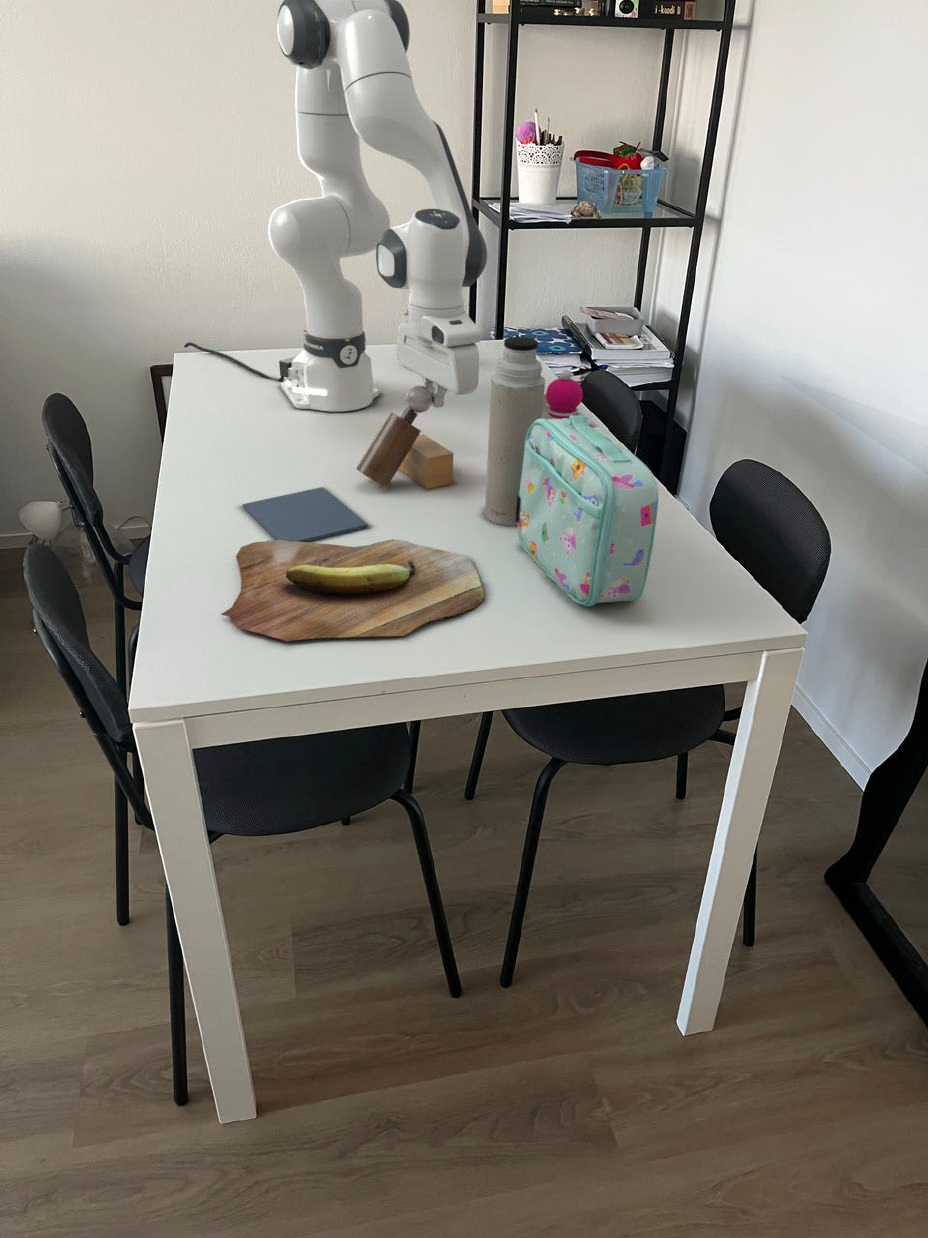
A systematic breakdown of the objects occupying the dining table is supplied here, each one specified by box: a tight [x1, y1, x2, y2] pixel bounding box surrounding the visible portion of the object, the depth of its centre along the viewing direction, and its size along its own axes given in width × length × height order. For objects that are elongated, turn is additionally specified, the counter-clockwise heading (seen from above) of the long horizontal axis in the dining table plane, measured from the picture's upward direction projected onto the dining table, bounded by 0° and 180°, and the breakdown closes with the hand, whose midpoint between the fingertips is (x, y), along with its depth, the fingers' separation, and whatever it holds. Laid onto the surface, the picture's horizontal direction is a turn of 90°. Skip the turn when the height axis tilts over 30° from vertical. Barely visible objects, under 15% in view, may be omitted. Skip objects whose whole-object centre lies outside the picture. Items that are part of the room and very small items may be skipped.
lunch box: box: [515, 414, 659, 607], centre depth 130 cm, size 27×10×21 cm, turn 21°
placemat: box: [242, 486, 368, 543], centre depth 148 cm, size 16×14×1 cm
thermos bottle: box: [484, 336, 546, 527], centre depth 144 cm, size 8×8×28 cm
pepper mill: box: [545, 369, 584, 419], centre depth 157 cm, size 7×7×20 cm
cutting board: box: [220, 538, 485, 642], centre depth 129 cm, size 35×27×4 cm
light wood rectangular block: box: [398, 433, 454, 490], centre depth 162 cm, size 10×5×6 cm, turn 33°
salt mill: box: [356, 384, 432, 488], centre depth 157 cm, size 6×15×15 cm, turn 123°
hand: (434, 404), depth 158 cm, fingers closed, pressing on salt mill
